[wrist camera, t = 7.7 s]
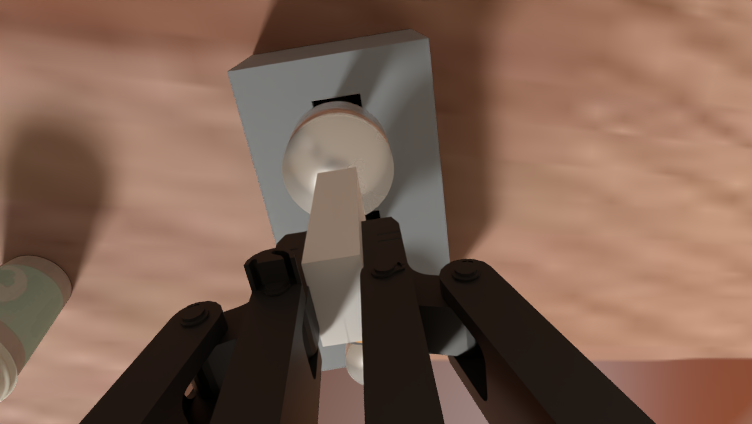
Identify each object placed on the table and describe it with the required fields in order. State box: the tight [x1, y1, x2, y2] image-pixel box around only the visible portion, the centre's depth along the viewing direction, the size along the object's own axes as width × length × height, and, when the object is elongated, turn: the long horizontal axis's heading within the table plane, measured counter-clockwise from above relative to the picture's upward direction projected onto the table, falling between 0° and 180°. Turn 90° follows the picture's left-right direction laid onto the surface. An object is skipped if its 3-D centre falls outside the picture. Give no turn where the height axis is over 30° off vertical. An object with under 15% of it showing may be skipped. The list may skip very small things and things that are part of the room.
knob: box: [282, 97, 394, 215], centre depth 26 cm, size 5×5×12 cm
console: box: [228, 29, 450, 371], centre depth 36 cm, size 24×12×8 cm, turn 9°
